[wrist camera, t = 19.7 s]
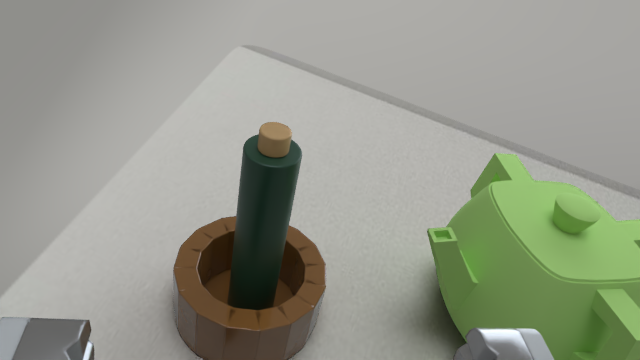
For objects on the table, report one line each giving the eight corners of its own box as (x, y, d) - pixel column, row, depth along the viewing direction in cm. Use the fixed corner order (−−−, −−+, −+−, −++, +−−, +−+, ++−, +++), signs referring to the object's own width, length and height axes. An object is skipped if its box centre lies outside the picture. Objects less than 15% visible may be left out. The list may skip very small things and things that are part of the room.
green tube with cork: (233, 329, 27) (255, 149, 20) (222, 292, 29) (238, 115, 22) (278, 319, 28) (314, 145, 21) (265, 284, 30) (293, 112, 23)
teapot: (453, 230, 38) (504, 119, 32) (609, 313, 33) (701, 203, 28) (381, 332, 29) (433, 205, 23) (578, 459, 25) (702, 345, 19)
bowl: (189, 388, 24) (191, 347, 22) (164, 267, 30) (163, 225, 28) (336, 349, 28) (349, 310, 25) (289, 247, 33) (296, 207, 31)
